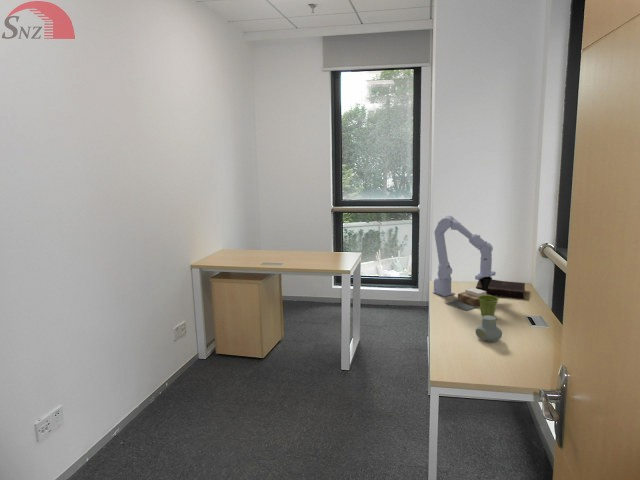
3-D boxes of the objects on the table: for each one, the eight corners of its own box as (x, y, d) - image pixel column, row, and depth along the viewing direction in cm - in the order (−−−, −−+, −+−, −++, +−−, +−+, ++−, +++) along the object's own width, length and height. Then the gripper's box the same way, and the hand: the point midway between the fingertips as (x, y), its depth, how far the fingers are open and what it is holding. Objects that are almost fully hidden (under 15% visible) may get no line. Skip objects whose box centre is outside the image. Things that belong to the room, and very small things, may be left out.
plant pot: (500, 318, 230) (501, 301, 228) (480, 318, 230) (481, 301, 228) (493, 311, 239) (494, 294, 237) (475, 311, 239) (475, 295, 237)
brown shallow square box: (457, 300, 256) (457, 293, 255) (472, 296, 262) (472, 289, 261) (475, 306, 246) (476, 299, 245) (490, 302, 252) (491, 294, 252)
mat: (445, 303, 252) (445, 303, 252) (455, 300, 256) (455, 300, 256) (466, 310, 241) (466, 310, 241) (476, 307, 245) (476, 307, 245)
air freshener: (472, 336, 209) (473, 314, 207) (487, 333, 212) (488, 312, 210) (489, 345, 199) (490, 323, 197) (505, 342, 202) (506, 320, 200)
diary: (523, 300, 256) (524, 291, 255) (475, 295, 266) (475, 287, 265) (524, 290, 272) (525, 281, 271) (479, 285, 283) (479, 277, 282)
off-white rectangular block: (465, 293, 256) (465, 289, 256) (472, 290, 259) (472, 287, 259) (478, 297, 248) (479, 293, 248) (486, 295, 252) (486, 291, 251)
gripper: (483, 269, 248) (482, 294, 251) (500, 265, 256) (499, 289, 258) (472, 267, 254) (471, 291, 256) (489, 262, 261) (488, 286, 264)
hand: (484, 290), depth 258 cm, fingers closed
